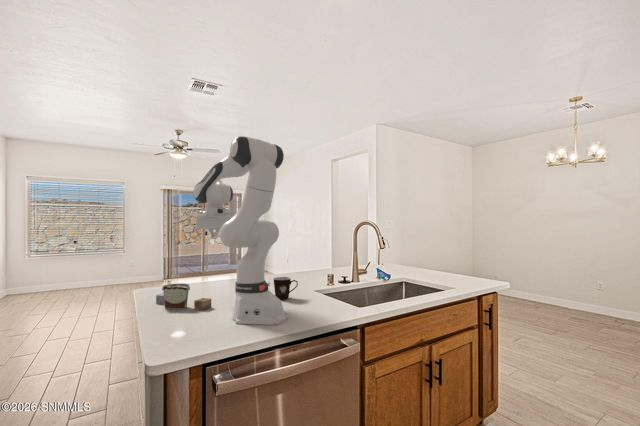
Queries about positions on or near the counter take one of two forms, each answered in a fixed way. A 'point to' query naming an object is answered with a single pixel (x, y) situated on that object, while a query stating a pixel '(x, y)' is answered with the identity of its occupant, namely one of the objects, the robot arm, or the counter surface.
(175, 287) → the food container
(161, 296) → the slate block
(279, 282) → the coffee mug
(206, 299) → the walnut block
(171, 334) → the counter surface
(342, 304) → the counter surface
